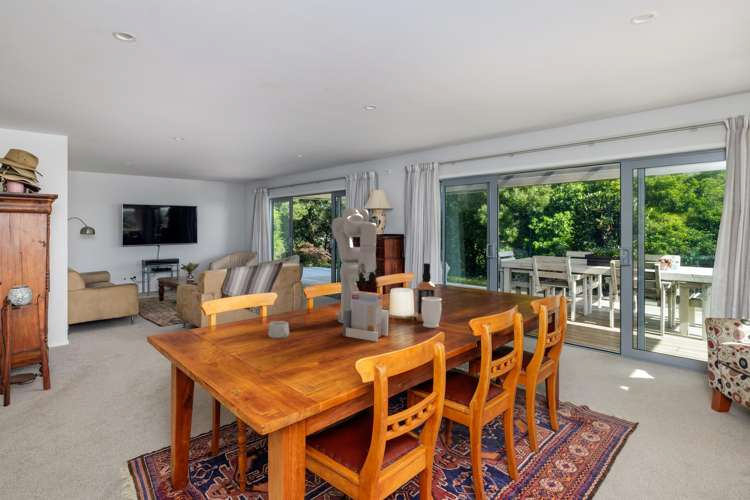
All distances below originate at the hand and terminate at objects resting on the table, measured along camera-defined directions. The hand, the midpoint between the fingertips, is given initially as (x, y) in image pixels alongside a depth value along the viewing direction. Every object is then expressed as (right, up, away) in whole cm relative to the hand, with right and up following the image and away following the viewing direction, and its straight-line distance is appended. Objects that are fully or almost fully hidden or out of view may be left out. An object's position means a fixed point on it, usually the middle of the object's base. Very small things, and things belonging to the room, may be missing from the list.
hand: (367, 284), depth 192 cm
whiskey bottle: (+32, -23, +37) cm, 55 cm away
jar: (+34, -24, +22) cm, 47 cm away
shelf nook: (-1, -25, +2) cm, 25 cm away
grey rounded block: (-41, -25, -2) cm, 48 cm away
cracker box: (0, -25, +1) cm, 25 cm away
